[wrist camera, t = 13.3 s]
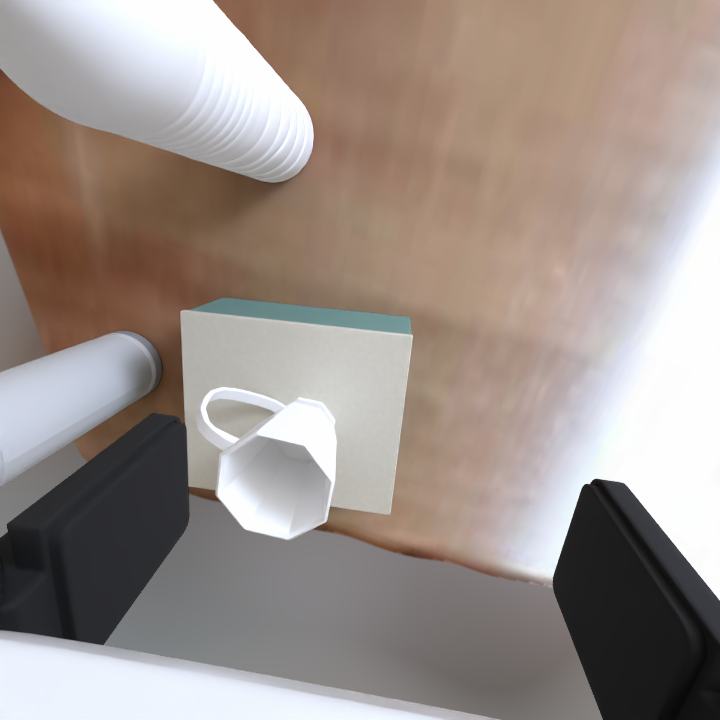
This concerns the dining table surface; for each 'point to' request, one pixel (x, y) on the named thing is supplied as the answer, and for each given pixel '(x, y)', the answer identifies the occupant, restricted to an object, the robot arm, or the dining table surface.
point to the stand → (301, 384)
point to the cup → (275, 465)
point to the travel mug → (70, 396)
